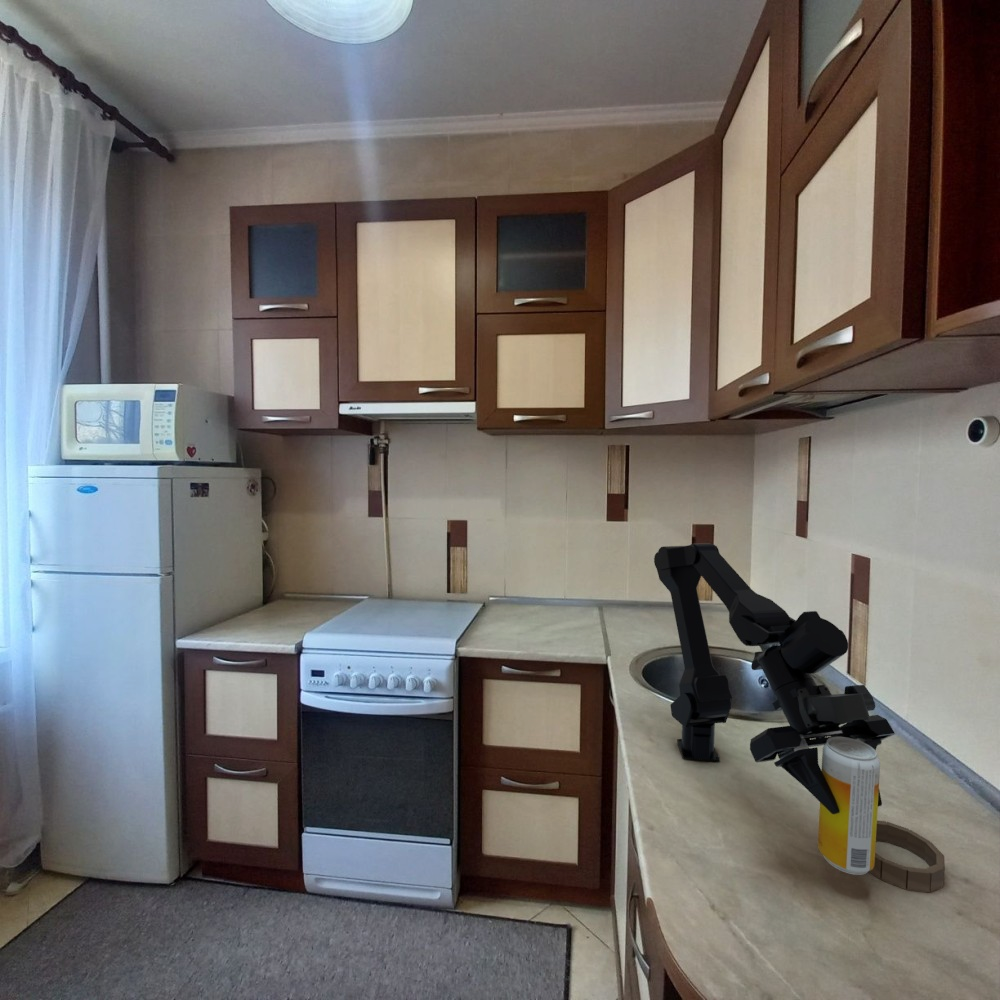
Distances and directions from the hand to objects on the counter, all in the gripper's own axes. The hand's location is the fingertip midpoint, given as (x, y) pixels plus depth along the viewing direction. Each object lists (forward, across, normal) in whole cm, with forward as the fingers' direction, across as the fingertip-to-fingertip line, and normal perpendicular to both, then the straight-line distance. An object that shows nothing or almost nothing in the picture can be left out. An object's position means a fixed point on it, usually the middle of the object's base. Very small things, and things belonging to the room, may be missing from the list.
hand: (857, 809), depth 66 cm
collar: (+6, +10, +9) cm, 15 cm away
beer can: (+5, 0, +6) cm, 8 cm away
